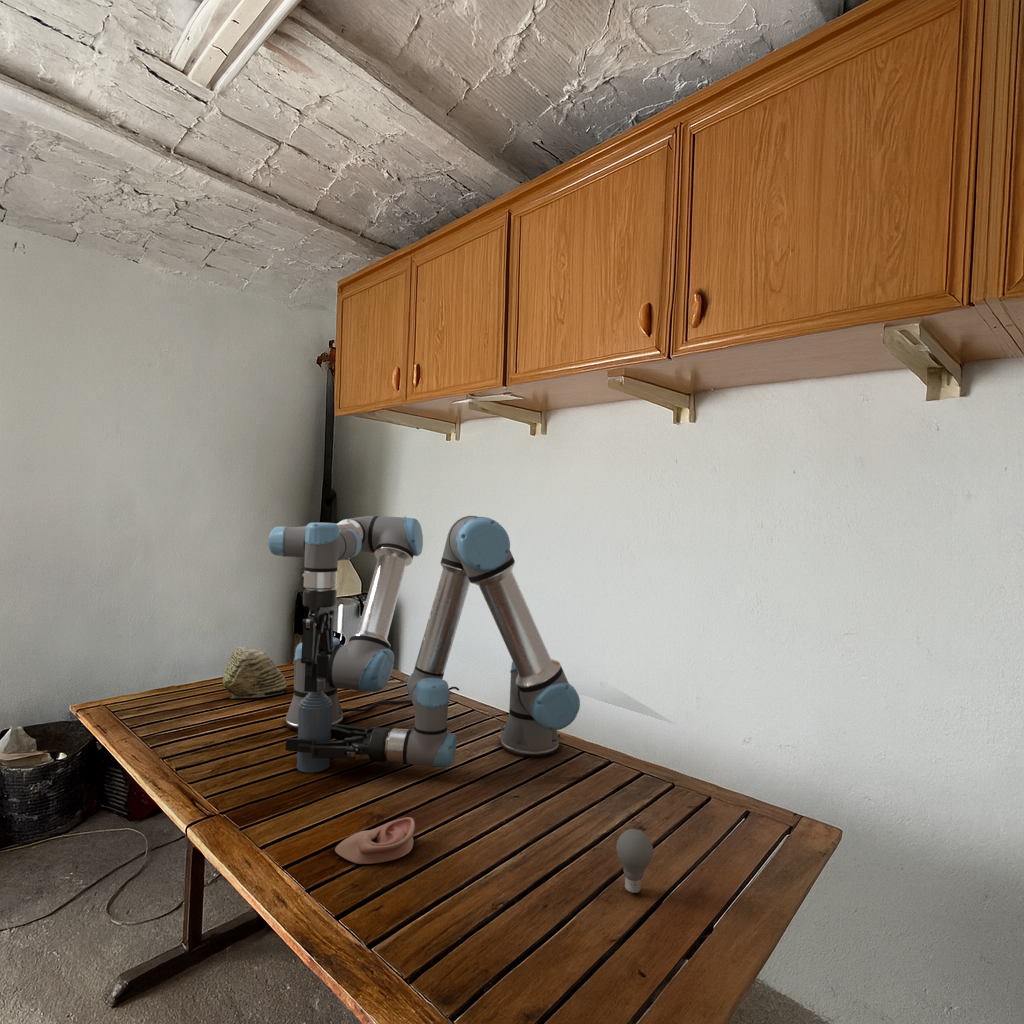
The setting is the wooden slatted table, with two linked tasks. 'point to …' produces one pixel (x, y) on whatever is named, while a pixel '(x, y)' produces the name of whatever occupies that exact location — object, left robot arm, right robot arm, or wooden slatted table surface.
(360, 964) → the wooden slatted table surface
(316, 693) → the bottle
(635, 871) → the light bulb
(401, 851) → the anatomical model
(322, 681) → the cap
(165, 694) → the wooden slatted table surface
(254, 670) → the fossil
